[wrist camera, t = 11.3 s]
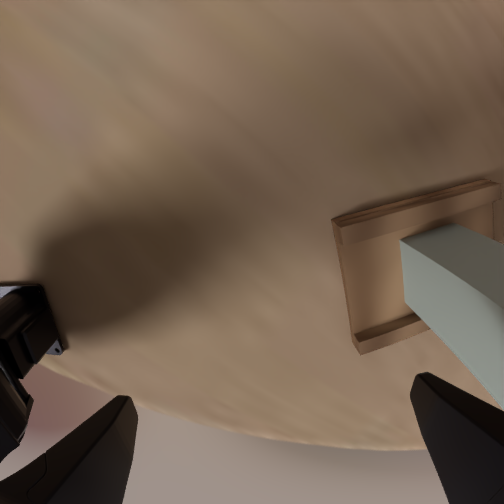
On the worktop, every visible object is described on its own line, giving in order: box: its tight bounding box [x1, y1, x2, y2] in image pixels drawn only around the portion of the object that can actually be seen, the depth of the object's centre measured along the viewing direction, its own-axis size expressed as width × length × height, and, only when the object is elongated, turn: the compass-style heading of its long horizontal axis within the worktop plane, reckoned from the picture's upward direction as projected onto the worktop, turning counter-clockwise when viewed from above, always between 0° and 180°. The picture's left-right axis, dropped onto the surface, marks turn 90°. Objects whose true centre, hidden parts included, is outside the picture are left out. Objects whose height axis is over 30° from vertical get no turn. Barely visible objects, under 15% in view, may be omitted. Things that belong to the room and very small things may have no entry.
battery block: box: [399, 223, 504, 410], centre depth 14 cm, size 5×5×14 cm
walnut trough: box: [331, 179, 502, 355], centre depth 21 cm, size 14×10×2 cm
